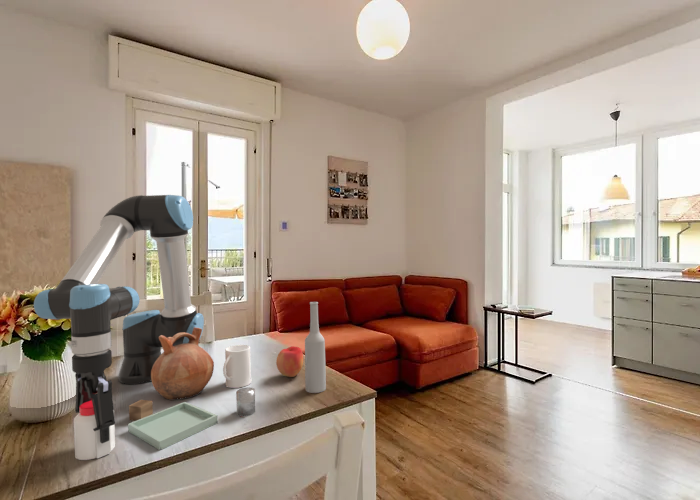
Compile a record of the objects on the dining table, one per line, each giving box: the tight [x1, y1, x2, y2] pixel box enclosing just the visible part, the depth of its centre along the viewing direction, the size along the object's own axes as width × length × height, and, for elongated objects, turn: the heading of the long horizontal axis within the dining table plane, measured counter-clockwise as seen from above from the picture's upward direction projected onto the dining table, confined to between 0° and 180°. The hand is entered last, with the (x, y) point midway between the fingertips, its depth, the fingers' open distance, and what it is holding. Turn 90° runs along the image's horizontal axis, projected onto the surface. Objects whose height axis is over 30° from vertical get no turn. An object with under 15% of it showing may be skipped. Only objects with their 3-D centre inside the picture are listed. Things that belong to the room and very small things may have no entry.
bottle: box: [304, 301, 327, 394], centre depth 119 cm, size 7×7×28 cm
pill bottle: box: [73, 400, 116, 461], centre depth 86 cm, size 8×8×11 cm
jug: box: [151, 327, 215, 401], centre depth 118 cm, size 18×18×20 cm
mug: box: [222, 344, 253, 389], centre depth 124 cm, size 12×8×12 cm
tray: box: [127, 401, 219, 451], centre depth 96 cm, size 15×15×2 cm
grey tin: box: [235, 386, 256, 417], centre depth 104 cm, size 5×5×6 cm
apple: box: [275, 346, 305, 378], centre depth 131 cm, size 10×10×10 cm
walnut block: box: [128, 399, 154, 422], centre depth 102 cm, size 4×4×4 cm
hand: (95, 449), depth 86 cm, fingers closed on pill bottle, 8 cm apart
